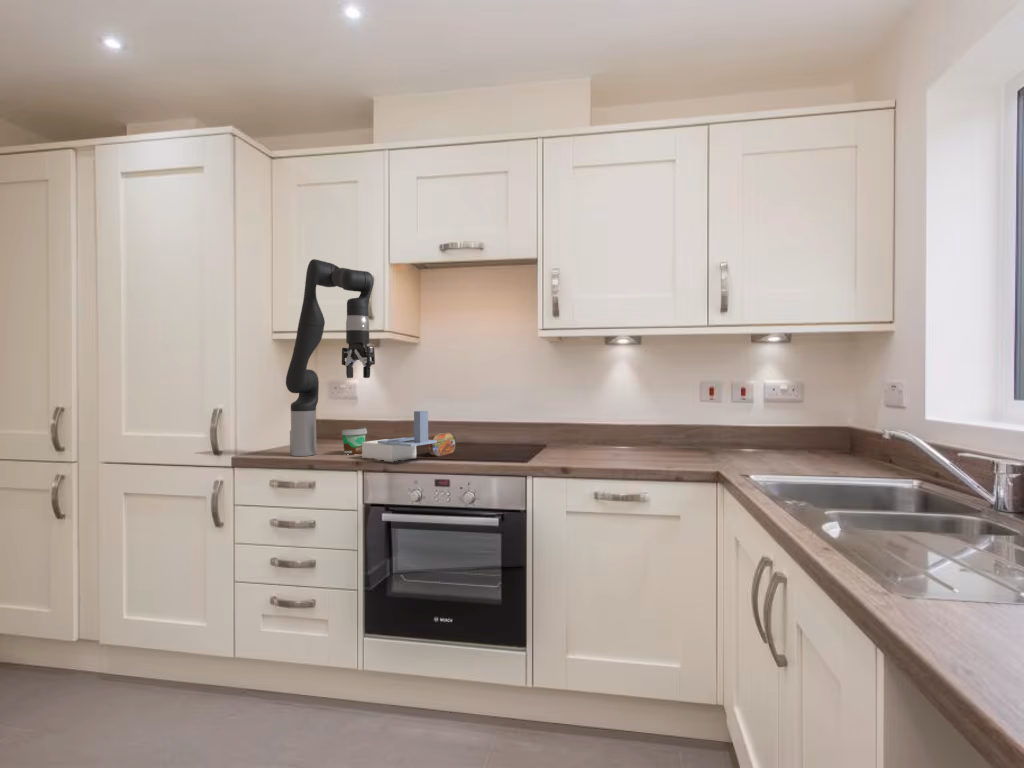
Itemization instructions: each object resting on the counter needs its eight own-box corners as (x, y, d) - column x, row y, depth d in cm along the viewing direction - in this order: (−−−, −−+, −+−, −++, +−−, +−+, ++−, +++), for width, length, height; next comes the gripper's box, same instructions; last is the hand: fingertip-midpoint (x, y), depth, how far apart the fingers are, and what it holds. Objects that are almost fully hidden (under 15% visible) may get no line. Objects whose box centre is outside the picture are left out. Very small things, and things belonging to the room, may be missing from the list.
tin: (432, 457, 209) (432, 435, 208) (426, 456, 210) (426, 434, 210) (457, 452, 221) (456, 431, 221) (450, 452, 223) (450, 431, 223)
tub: (362, 458, 207) (362, 442, 206) (386, 454, 216) (386, 439, 216) (392, 462, 197) (391, 445, 197) (416, 457, 207) (416, 441, 207)
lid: (377, 443, 201) (377, 410, 201) (404, 439, 211) (403, 408, 211) (410, 446, 191) (410, 412, 191) (436, 442, 202) (436, 410, 201)
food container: (355, 456, 212) (355, 430, 212) (341, 455, 214) (341, 429, 214) (373, 452, 223) (373, 427, 223) (360, 451, 225) (360, 426, 225)
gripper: (380, 329, 186) (381, 378, 186) (353, 331, 194) (353, 377, 194) (362, 328, 180) (363, 378, 180) (335, 330, 188) (335, 378, 188)
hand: (358, 377), depth 187 cm, fingers open, 8 cm apart
